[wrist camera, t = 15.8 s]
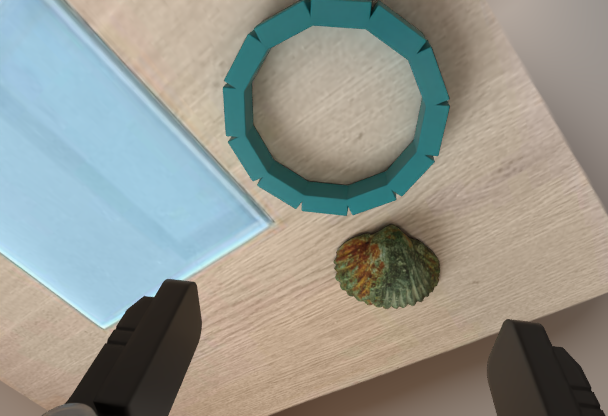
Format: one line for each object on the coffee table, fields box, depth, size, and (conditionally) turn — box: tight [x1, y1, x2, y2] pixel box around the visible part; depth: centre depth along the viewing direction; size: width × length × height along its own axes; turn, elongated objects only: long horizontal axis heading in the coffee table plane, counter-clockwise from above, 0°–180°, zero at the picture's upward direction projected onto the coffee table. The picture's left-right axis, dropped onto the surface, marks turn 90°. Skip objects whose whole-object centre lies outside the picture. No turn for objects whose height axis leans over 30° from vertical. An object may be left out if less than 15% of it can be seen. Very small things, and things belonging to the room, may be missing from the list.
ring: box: [223, 0, 450, 216], centre depth 32 cm, size 16×16×2 cm
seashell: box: [334, 225, 440, 309], centre depth 39 cm, size 10×4×10 cm
